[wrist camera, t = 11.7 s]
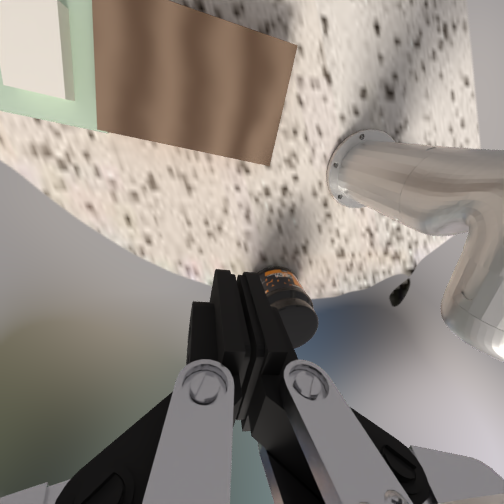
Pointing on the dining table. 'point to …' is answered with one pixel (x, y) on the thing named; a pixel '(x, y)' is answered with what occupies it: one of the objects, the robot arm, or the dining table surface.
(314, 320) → the supplement container
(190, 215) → the dining table surface
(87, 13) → the mat
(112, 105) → the deck
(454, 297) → the robot arm
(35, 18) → the white rectangular block
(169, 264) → the dining table surface
